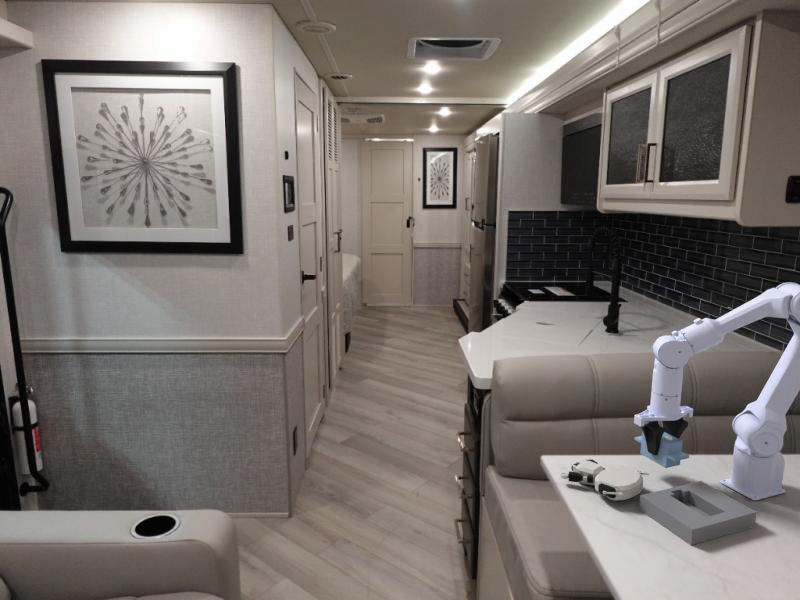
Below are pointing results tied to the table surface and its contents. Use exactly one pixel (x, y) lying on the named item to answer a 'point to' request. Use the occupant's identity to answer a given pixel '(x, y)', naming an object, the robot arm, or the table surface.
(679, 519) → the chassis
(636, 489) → the robot toy
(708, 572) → the table surface
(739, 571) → the table surface
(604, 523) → the table surface
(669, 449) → the block
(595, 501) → the table surface
